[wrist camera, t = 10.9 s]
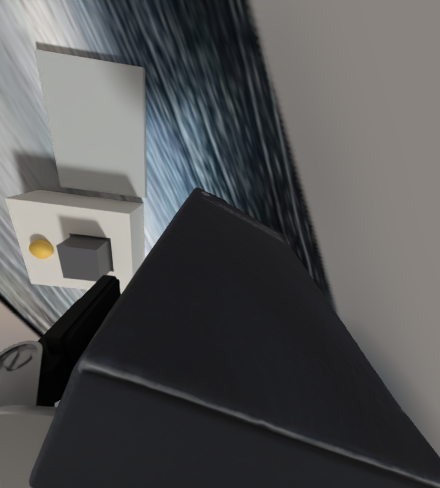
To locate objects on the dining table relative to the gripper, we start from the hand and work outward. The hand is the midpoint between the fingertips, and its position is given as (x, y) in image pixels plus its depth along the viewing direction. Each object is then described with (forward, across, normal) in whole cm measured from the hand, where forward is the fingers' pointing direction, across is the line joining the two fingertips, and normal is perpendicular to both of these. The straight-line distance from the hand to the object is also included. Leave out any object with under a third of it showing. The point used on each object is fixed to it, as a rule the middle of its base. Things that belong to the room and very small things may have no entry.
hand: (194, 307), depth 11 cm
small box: (+3, 0, 0) cm, 3 cm away
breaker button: (+18, +15, +6) cm, 24 cm away
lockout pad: (+20, +15, -8) cm, 26 cm away
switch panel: (+20, +17, +6) cm, 27 cm away
